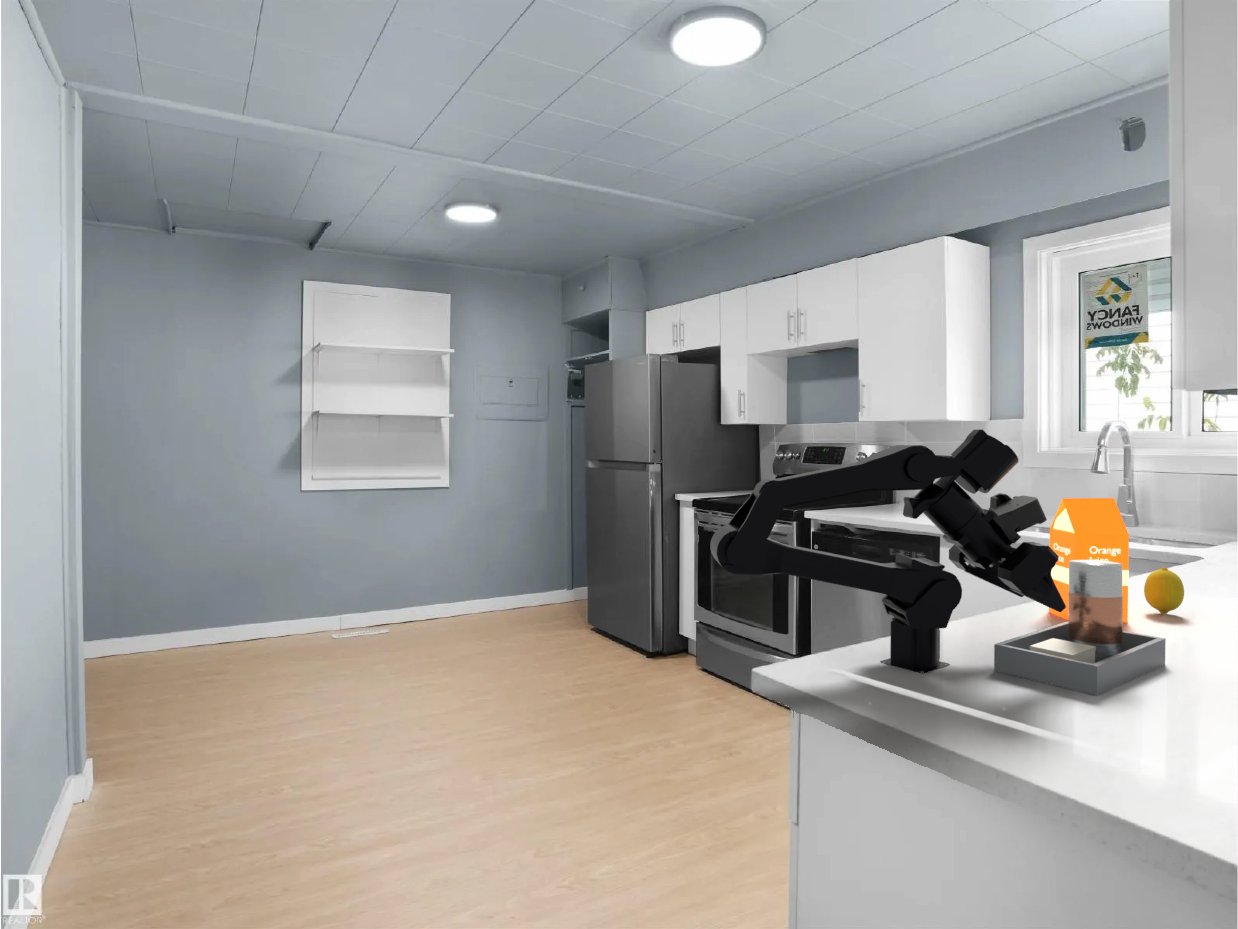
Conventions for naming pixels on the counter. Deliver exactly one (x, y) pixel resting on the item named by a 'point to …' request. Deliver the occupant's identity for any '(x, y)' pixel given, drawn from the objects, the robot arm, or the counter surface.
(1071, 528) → the orange juice
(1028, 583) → the robot arm
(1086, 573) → the steel tin
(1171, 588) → the lemon
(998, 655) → the grey rectangular tray
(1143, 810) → the counter surface
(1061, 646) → the cream smooth square block
